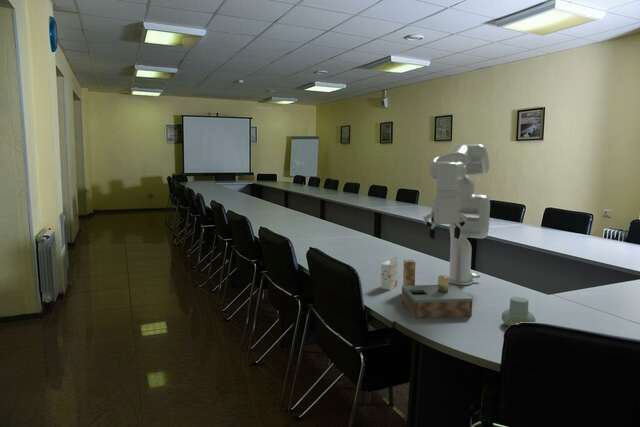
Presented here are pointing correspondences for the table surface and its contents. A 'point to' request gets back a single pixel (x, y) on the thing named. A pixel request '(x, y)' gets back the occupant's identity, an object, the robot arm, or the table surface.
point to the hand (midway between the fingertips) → (444, 238)
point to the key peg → (409, 273)
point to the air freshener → (517, 312)
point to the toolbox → (436, 307)
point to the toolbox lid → (437, 292)
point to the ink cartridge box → (389, 273)
